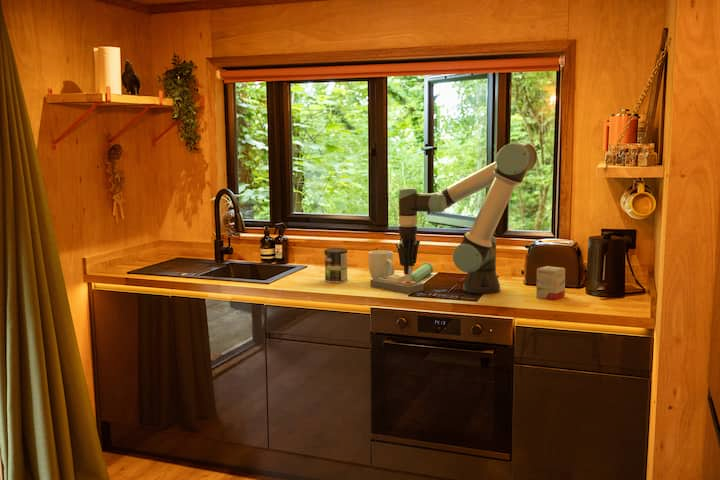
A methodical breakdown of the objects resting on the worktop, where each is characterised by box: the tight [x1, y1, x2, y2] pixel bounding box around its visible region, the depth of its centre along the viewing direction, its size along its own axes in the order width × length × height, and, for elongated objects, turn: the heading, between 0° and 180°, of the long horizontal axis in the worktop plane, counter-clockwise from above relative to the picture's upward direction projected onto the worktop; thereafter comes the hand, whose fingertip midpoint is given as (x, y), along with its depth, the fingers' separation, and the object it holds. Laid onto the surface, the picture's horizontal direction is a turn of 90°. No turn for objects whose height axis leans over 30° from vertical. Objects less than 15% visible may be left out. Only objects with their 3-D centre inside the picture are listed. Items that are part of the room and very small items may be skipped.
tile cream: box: [388, 274, 405, 284], centre depth 305 cm, size 5×5×4 cm
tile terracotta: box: [400, 281, 417, 286], centre depth 301 cm, size 5×5×4 cm
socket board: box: [370, 279, 425, 295], centre depth 305 cm, size 22×9×3 cm, turn 46°
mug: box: [367, 249, 395, 280], centre depth 319 cm, size 15×11×13 cm
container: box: [412, 262, 434, 283], centre depth 324 cm, size 6×6×25 cm
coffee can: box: [323, 247, 348, 284], centre depth 323 cm, size 10×10×14 cm
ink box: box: [535, 265, 566, 301], centre depth 285 cm, size 9×9×12 cm
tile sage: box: [377, 277, 388, 282], centre depth 309 cm, size 5×5×4 cm
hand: (408, 281), depth 300 cm, fingers closed
